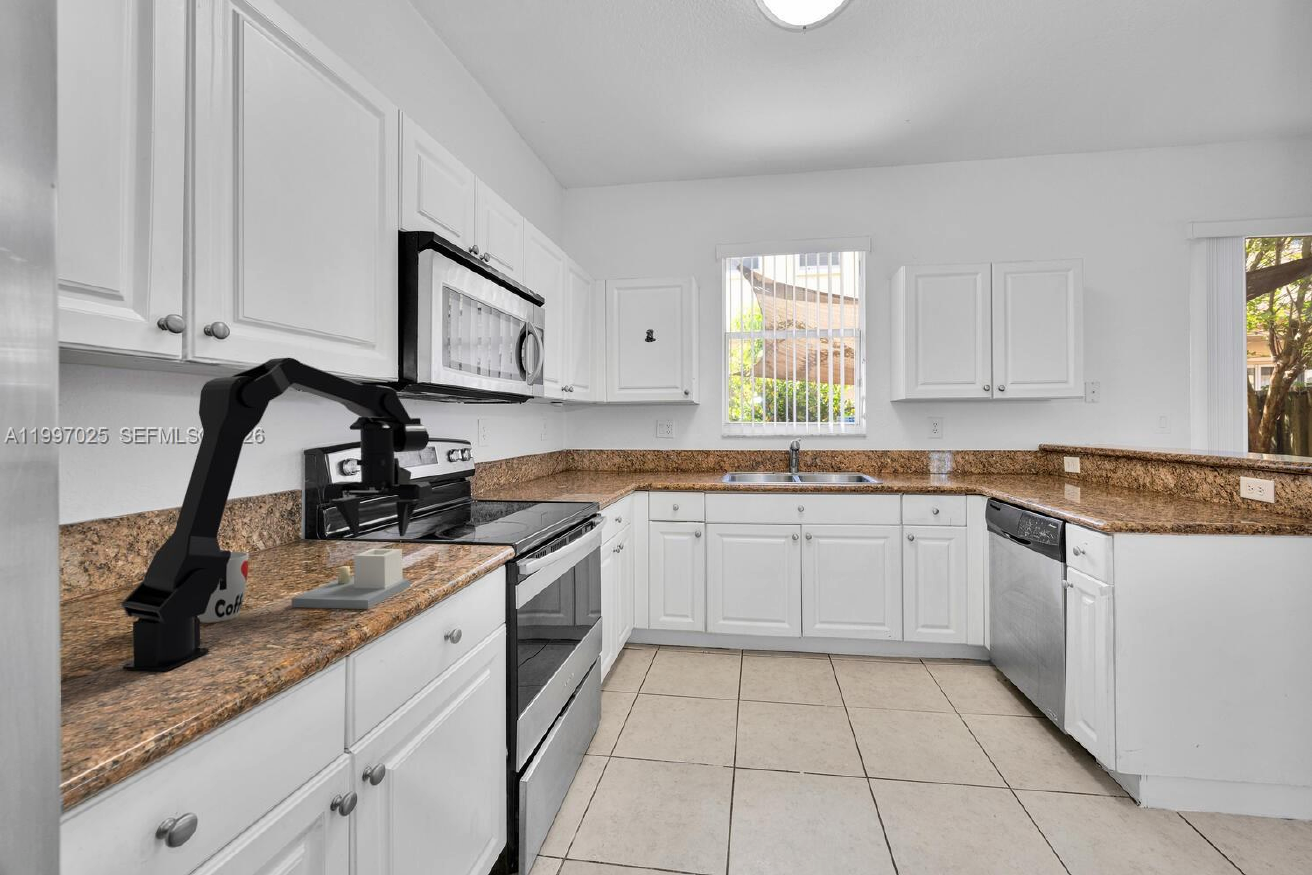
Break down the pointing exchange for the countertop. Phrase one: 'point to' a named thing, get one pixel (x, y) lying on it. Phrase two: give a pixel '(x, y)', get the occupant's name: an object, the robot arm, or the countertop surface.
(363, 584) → the block
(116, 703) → the countertop surface
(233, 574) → the cup
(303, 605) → the plate
